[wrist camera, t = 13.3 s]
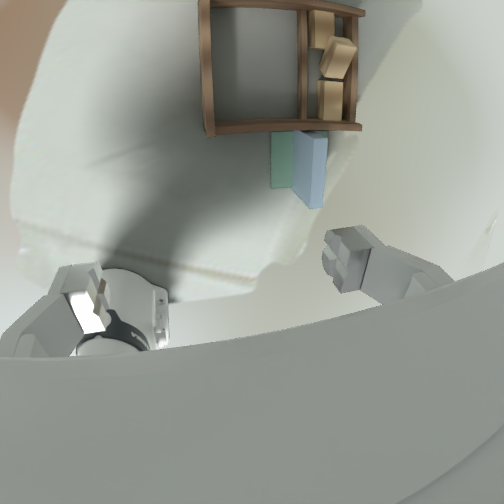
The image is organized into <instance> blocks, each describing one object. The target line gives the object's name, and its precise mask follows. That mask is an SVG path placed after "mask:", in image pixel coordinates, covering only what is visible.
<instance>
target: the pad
mask: <svg viewBox="0 0 504 504" xmlns="http://www.w3.org/2000/svg"><path fill="white" fill-rule="evenodd" d="M314 132H316V133H318V134H320V135H322V136H324V137H326V138H328V131H314ZM293 154H294V131H272V132H271V189H275V188H286V187H292V183H293Z"/></svg>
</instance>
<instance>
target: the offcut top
mask: <svg viewBox="0 0 504 504" xmlns="http://www.w3.org/2000/svg"><path fill="white" fill-rule="evenodd" d="M356 49H357V47H356V46H355V45H354V44H353V43H352V42H351V41H350V39H347V38H341V37H336V36H330V37H329V40H328V43H327V45H326V48H325V51H324V53H323V56H322V59H321V62H320V64H319V69H320V71H321V72H322V74H323V75H324V77H329V78H339V79H343V78H344V75H345V73H346V71H347V69H348V67H349V64H350V62H351V60H352V58H353V56H354V53H355V51H356Z"/></svg>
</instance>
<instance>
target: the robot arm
mask: <svg viewBox="0 0 504 504" xmlns="http://www.w3.org/2000/svg"><path fill="white" fill-rule="evenodd" d="M324 241H325V242H326V244H327V246H326V247H325V248H324V250H323V254H322V263H323V267H324V270H325V271H326V273H327V274H328V275H330V276H332V277H334V278H333V283H334V285H335V286H336V287H337V289H338V290H339V292H340V293H345V292H351V291H355V290H361V291H362V292H363V293H365V294H367V295H368V296H370V297H372V298H373V299H374V300H376V301H378V302H379V303H381V304H382V305H380V306H376V307H373V308H369V309H366V310H362V311H358V312H355V313H351V314H347V315H343V316H339V317H335V318H331V319H327V320H323V321H319V322H314V323H310V324H306V325H301V326H296V327H292V328H287V329H282V330H277V331H273V332H268V333H262V334H257V335H252V336H246V337H241V338H235V339H229V340H223V341H217V342H210V343H203V344H197V345H190V346H182V347H175V348H167V349H159V348H161V347H163V346H165V345H167V344H168V343H169V318H168V292H167V290H165V289H164V288H161V287H158V286H155V285H152V284H151V283H149V282H148V281H147V280H145V279H144V278H143V277H141V276H139V275H138V274H136V273H133V272H131V271H127V270H123V269H106V270H102V268H101V266H100V263H98V262H89V263H82V264H74V265H67V266H62V267H60V268H59V269H58V272H57V274H56V276H55V278H54V281H53V283H52V285H51V287H50V290H49V292H48V295H46V296H43V297H42V298H41V299H40V300H38V302H36V303H35V304H34V305H33V306H32V307H31V308H29V309H28V310H27V311H26V312H25V313H24V314H23V315H22V316H21V317H20V318H19V319H18V320H17V321H15V322H14V323H13V324H12V325H11V326H10V327H9V328H8V329H7V330H6V331H5V332H4V333H3V334H2V336H1V339H0V504H504V263H502V264H499V265H497V266H495V267H492V268H490V269H487V270H485V271H482V272H479V273H477V274H474V275H471V276H469V277H466V278H463V279H461V280H458V281H454V280H453V279H452V278H451V277H450V276H449V275H448V274H447V273H446V272H445V271H444V270H443V269H442V268H441V267H440V266H438V265H435V264H433V263H431V262H428V261H426V260H423V259H421V258H419V257H416V256H414V255H411V254H409V253H406V252H404V251H401V250H398V249H396V248H394V247H391V246H385V245H384V244H383V243H382V242H381V241H380V240H379V239H378V238H377V237H376V236H375V235H374V234H373V233H372V232H370V230H368V229H367V228H366V227H365V226H363V225H358V226H352V227H346V228H340V229H333V230H327V232H326V234H325V239H324ZM160 299H163V300H160ZM75 347H76V355H77V356H71V357H69V356H70V354H71V353H72V351H73V350H74V349H75Z"/></svg>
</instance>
